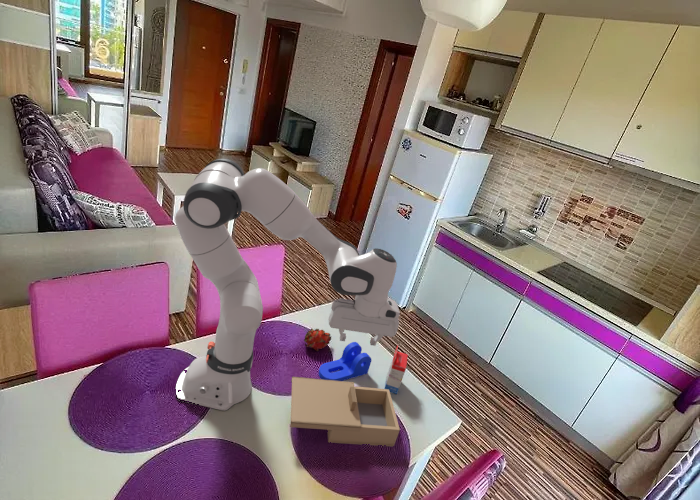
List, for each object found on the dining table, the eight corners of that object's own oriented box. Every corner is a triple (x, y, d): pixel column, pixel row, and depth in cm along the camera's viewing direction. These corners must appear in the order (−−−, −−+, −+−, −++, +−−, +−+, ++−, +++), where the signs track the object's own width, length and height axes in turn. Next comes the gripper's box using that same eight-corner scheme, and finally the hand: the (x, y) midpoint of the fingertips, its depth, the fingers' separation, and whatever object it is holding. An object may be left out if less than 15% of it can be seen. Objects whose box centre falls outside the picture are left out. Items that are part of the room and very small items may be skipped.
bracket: (355, 359, 153) (360, 340, 150) (367, 373, 147) (373, 354, 144) (314, 370, 143) (319, 350, 139) (325, 386, 137) (331, 365, 133)
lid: (289, 427, 111) (293, 412, 109) (291, 381, 127) (294, 367, 125) (359, 431, 115) (364, 418, 113) (352, 386, 131) (356, 374, 129)
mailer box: (328, 442, 117) (333, 425, 114) (325, 400, 131) (329, 384, 128) (393, 446, 121) (399, 429, 118) (383, 405, 135) (389, 389, 132)
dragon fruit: (298, 351, 152) (325, 350, 159) (309, 352, 146) (337, 351, 152) (299, 328, 154) (325, 328, 161) (310, 328, 147) (337, 328, 154)
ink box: (397, 395, 141) (408, 362, 135) (383, 390, 141) (394, 357, 135) (399, 379, 148) (410, 347, 143) (386, 375, 149) (397, 343, 143)
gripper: (334, 303, 109) (323, 343, 115) (405, 314, 113) (391, 353, 119) (333, 291, 115) (322, 330, 121) (400, 302, 119) (387, 340, 124)
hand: (357, 342), depth 120 cm, fingers open, 8 cm apart
